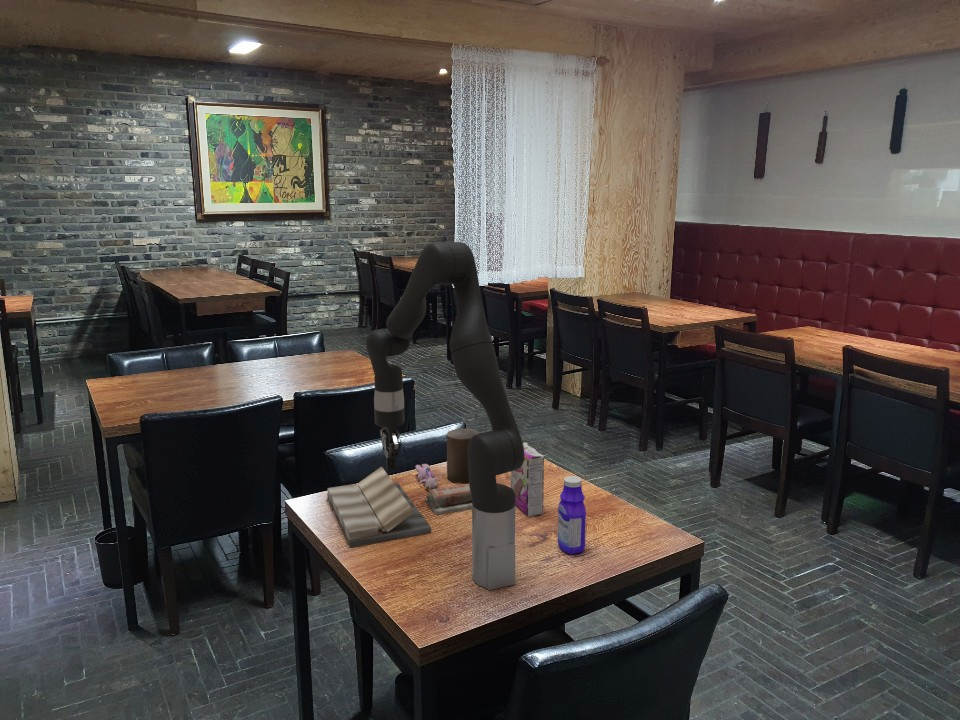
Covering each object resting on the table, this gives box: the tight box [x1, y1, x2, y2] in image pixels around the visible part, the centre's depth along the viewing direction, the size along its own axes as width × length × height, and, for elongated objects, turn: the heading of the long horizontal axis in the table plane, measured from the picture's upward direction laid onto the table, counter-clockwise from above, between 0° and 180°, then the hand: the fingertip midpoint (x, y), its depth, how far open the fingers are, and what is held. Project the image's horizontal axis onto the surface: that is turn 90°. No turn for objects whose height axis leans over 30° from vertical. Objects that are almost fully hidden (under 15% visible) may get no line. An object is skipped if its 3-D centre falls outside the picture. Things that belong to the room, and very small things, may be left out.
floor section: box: [326, 482, 432, 549], centre depth 181 cm, size 30×20×4 cm, turn 22°
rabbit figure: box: [415, 463, 441, 493], centre depth 201 cm, size 6×6×15 cm
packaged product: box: [424, 483, 472, 516], centre depth 188 cm, size 18×5×10 cm
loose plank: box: [357, 466, 414, 532], centre depth 181 cm, size 28×9×2 cm
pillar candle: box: [446, 428, 480, 484], centre depth 204 cm, size 10×10×15 cm
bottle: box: [557, 475, 587, 555], centre depth 162 cm, size 7×6×17 cm
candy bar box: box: [510, 442, 545, 518], centre depth 184 cm, size 11×5×16 cm, turn 22°
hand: (391, 469), depth 180 cm, fingers closed
